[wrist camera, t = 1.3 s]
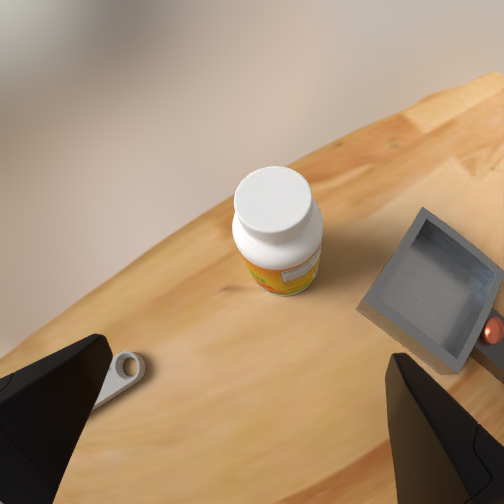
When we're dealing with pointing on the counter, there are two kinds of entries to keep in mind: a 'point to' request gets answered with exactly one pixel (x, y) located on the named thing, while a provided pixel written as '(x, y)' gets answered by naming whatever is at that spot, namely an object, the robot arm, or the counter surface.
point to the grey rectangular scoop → (440, 299)
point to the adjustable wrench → (119, 377)
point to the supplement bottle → (278, 229)
